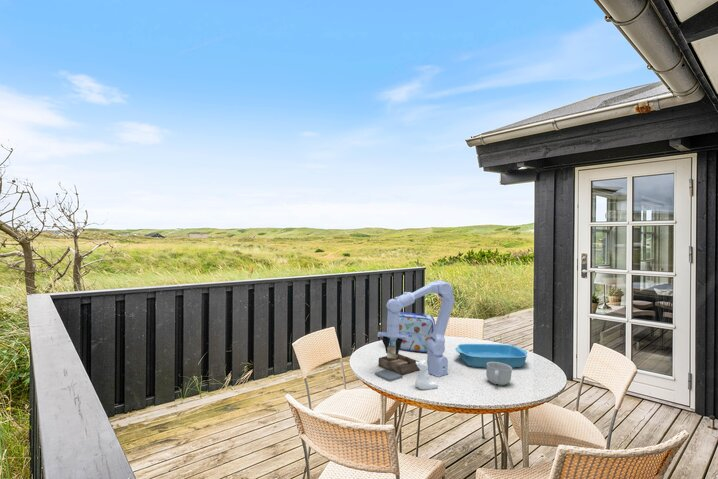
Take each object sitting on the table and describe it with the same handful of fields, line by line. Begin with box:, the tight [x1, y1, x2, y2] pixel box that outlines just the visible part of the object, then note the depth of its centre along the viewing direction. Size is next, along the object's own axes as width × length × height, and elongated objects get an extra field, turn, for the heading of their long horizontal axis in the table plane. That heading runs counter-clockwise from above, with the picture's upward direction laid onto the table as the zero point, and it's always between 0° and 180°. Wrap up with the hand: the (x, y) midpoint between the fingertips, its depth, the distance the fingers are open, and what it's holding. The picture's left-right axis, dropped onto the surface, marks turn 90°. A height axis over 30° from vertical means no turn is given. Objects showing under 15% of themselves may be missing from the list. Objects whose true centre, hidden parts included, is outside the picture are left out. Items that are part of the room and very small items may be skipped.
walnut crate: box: [378, 353, 420, 376], centre depth 183 cm, size 16×13×4 cm
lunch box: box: [389, 311, 436, 353], centre depth 214 cm, size 28×10×22 cm, turn 73°
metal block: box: [386, 344, 398, 359], centre depth 176 cm, size 4×4×5 cm
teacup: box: [485, 362, 513, 386], centre depth 166 cm, size 14×11×8 cm
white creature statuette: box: [415, 359, 439, 391], centre depth 160 cm, size 10×9×12 cm
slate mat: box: [374, 369, 403, 383], centre depth 172 cm, size 10×8×1 cm
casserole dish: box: [455, 343, 528, 369], centre depth 195 cm, size 37×22×7 cm, turn 91°
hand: (392, 353), depth 175 cm, fingers closed on metal block, 4 cm apart
